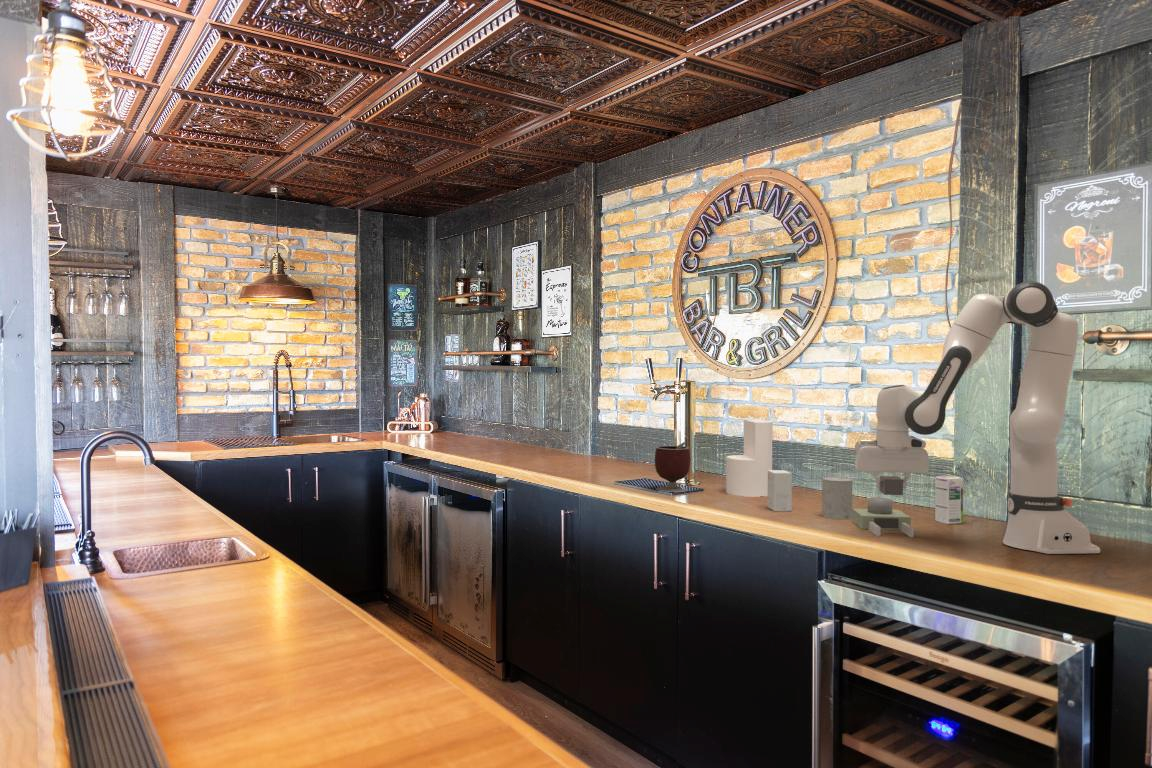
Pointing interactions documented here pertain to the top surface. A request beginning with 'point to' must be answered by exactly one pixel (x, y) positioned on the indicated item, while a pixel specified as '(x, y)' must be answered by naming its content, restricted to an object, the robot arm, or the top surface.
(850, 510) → the grey concrete cylinder
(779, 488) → the small box
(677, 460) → the mate gourd
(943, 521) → the syrup box
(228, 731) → the top surface
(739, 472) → the pale stepped column block
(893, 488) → the dark grey box
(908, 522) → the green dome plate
